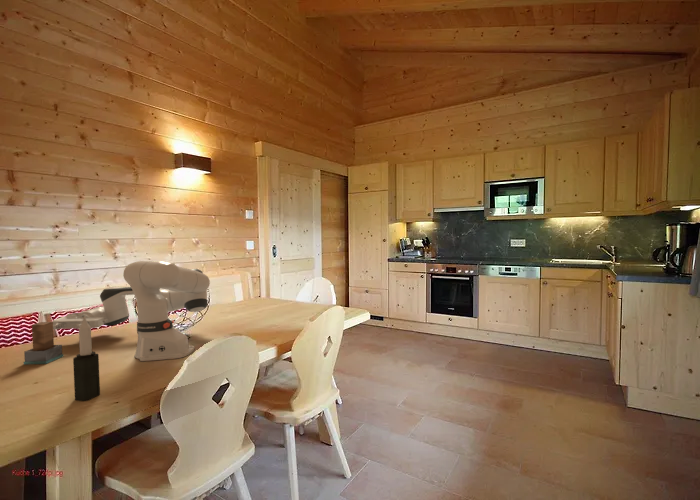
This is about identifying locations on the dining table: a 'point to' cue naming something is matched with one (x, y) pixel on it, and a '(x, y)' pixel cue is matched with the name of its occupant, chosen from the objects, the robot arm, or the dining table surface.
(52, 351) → the keeper collar
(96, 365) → the candle
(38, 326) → the link block
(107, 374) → the dining table surface
